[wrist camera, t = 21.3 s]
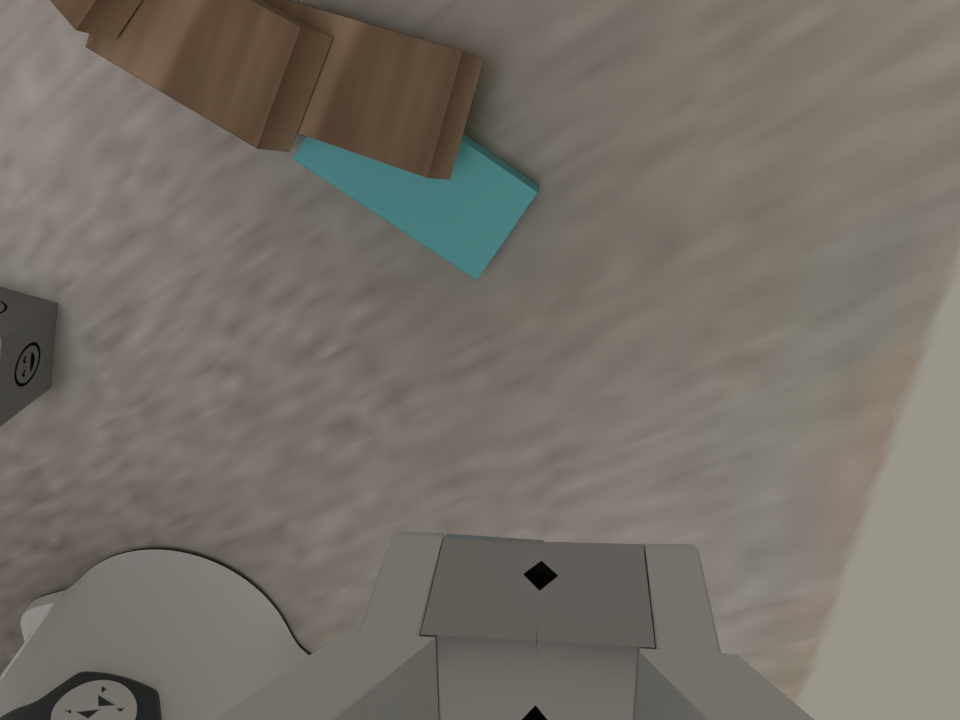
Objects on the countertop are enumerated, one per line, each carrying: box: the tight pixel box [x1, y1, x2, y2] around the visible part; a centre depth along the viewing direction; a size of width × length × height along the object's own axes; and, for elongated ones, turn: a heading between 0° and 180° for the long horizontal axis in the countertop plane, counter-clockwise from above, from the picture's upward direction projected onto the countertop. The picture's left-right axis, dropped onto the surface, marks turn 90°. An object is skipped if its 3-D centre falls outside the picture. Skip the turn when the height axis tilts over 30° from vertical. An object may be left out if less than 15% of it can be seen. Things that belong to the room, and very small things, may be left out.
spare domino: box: [293, 134, 539, 280], centre depth 42 cm, size 2×5×10 cm
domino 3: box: [86, 0, 333, 152], centre depth 38 cm, size 2×5×10 cm
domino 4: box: [262, 0, 484, 180], centre depth 38 cm, size 2×5×10 cm
